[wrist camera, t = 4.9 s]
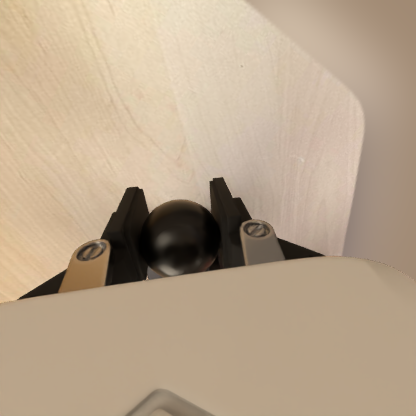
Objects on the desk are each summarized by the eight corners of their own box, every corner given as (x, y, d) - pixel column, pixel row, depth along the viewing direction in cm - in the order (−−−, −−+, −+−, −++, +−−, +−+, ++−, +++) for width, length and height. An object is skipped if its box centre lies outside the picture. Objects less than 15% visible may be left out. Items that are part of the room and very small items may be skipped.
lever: (141, 196, 10) (120, 220, 7) (211, 188, 11) (224, 207, 7) (176, 380, 14) (174, 454, 11) (227, 371, 15) (241, 439, 11)
